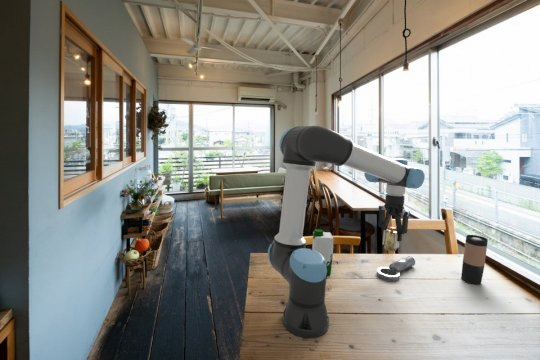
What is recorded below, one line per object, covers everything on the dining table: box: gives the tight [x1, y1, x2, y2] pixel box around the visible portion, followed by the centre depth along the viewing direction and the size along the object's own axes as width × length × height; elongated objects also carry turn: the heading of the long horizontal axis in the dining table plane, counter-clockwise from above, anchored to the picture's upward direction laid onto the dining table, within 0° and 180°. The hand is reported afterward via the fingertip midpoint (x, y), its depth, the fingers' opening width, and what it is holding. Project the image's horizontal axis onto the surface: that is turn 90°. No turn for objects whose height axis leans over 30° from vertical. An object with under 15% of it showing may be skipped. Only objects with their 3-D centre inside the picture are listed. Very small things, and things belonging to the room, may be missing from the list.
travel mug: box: [460, 234, 489, 286], centre depth 120 cm, size 8×8×20 cm
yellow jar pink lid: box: [384, 226, 397, 252], centre depth 122 cm, size 5×5×10 cm
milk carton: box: [311, 228, 334, 277], centre depth 125 cm, size 9×9×20 cm
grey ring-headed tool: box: [376, 255, 416, 282], centre depth 128 cm, size 24×9×5 cm, turn 125°
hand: (390, 245), depth 122 cm, fingers closed on yellow jar pink lid, 5 cm apart
